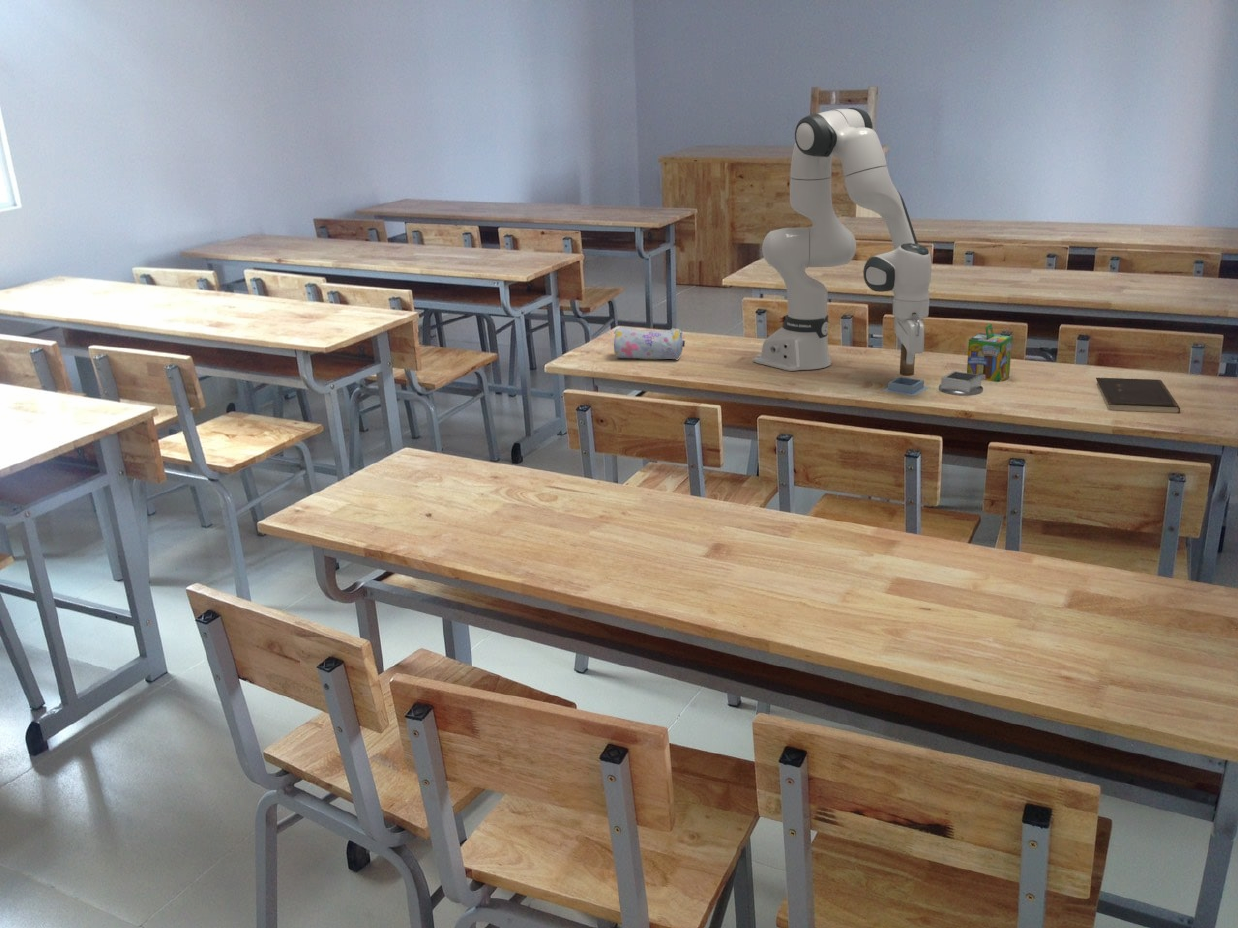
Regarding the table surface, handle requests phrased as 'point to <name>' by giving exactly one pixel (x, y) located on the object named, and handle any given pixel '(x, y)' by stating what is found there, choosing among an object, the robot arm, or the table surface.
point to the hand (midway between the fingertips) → (907, 360)
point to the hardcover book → (1137, 395)
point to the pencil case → (648, 344)
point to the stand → (906, 386)
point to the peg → (904, 367)
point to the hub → (961, 384)
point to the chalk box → (990, 355)
